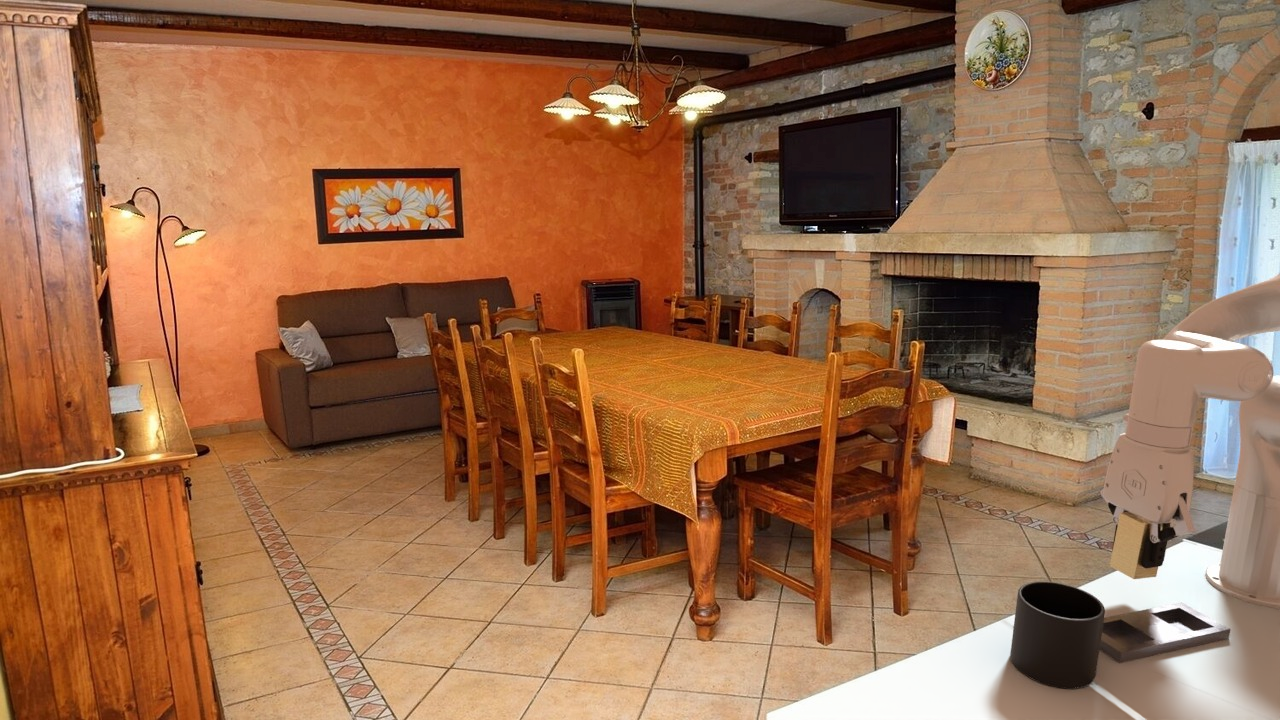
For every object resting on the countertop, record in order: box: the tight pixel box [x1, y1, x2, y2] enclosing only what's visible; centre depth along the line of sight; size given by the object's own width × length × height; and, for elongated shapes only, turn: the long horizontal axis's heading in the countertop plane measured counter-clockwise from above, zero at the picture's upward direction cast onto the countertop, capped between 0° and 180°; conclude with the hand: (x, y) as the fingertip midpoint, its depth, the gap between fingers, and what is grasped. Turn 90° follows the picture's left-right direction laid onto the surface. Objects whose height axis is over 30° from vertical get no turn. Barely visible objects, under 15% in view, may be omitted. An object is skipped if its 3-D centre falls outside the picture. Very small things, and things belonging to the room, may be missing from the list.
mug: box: [1009, 580, 1106, 689], centre depth 102 cm, size 9×12×9 cm
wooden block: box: [1109, 512, 1162, 580], centre depth 116 cm, size 4×4×8 cm
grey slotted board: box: [1099, 602, 1231, 664], centre depth 108 cm, size 18×7×2 cm, turn 108°
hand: (1136, 557), depth 116 cm, fingers closed on wooden block, 4 cm apart
